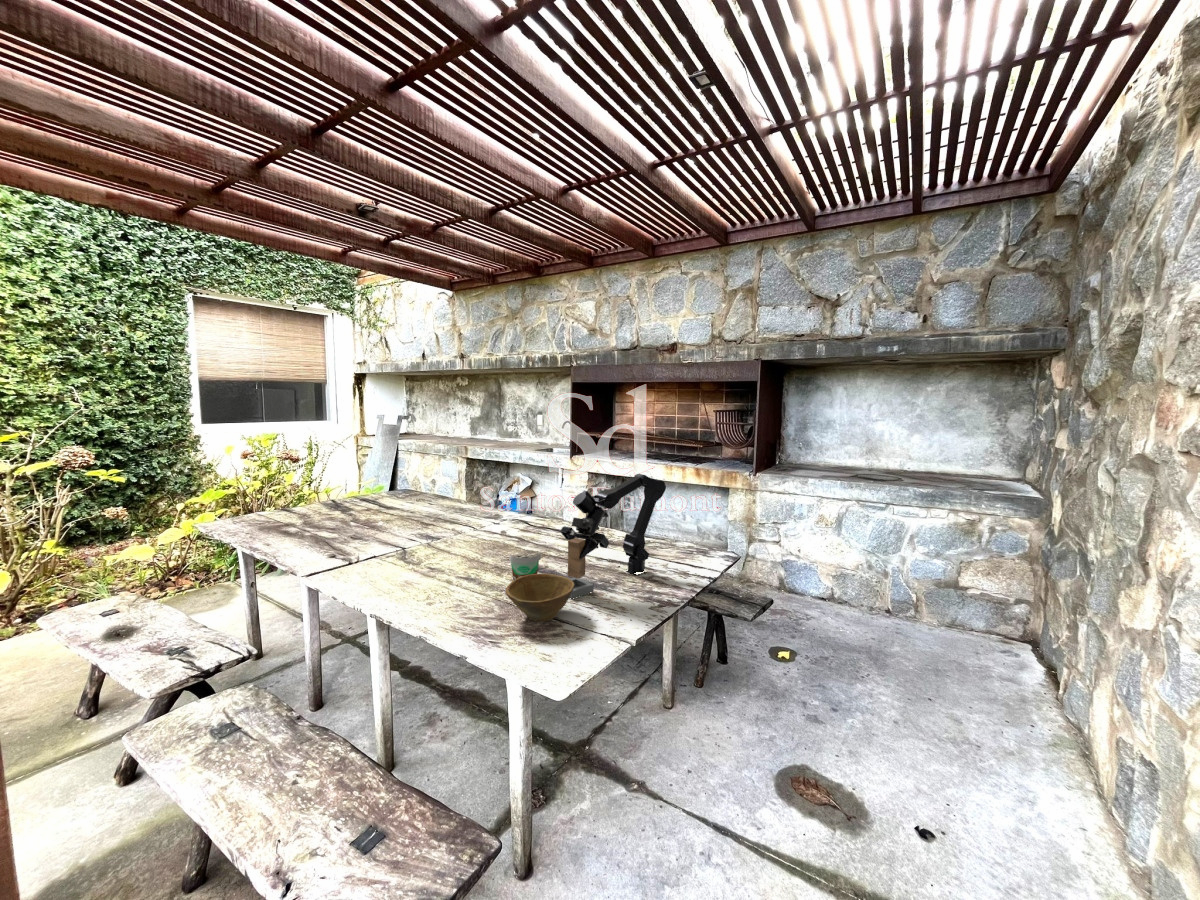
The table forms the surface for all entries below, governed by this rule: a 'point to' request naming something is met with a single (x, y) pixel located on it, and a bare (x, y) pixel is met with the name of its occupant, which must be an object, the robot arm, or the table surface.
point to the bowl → (540, 595)
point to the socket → (581, 587)
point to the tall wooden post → (576, 558)
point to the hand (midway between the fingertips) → (574, 557)
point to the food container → (524, 565)
